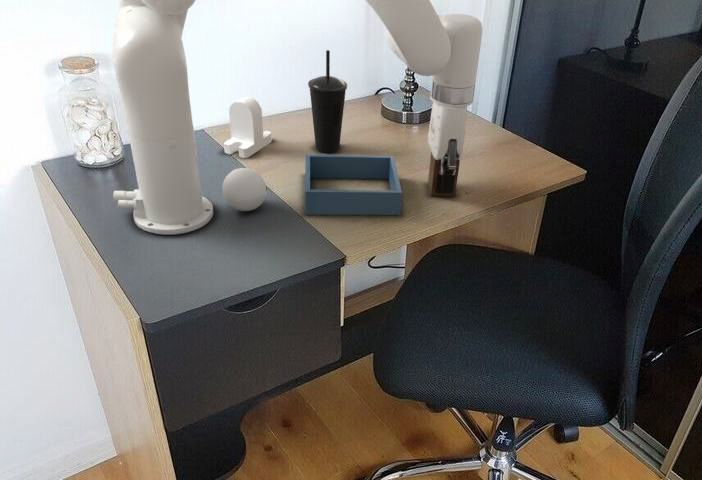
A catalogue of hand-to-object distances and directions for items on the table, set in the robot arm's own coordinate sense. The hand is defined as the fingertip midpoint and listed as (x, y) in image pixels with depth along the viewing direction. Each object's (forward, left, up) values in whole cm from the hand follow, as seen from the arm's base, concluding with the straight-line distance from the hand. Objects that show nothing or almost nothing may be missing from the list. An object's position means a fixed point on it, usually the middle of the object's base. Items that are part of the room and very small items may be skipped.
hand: (441, 184), depth 123 cm
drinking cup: (-21, +18, -1) cm, 28 cm away
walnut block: (0, 0, -1) cm, 1 cm away
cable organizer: (-37, +18, -1) cm, 41 cm away
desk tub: (-17, -2, -1) cm, 17 cm away
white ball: (-36, -6, -1) cm, 37 cm away
